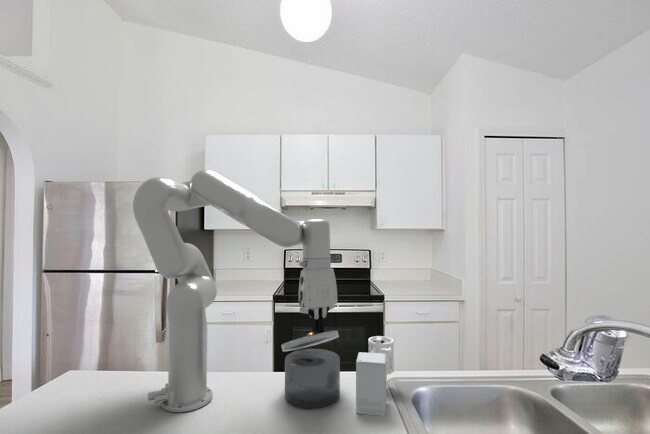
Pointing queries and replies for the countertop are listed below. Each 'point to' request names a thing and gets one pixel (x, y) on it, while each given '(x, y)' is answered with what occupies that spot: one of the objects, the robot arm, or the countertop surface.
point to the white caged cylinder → (383, 351)
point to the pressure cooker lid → (310, 340)
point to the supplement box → (371, 384)
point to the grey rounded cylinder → (312, 378)
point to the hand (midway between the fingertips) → (318, 332)
